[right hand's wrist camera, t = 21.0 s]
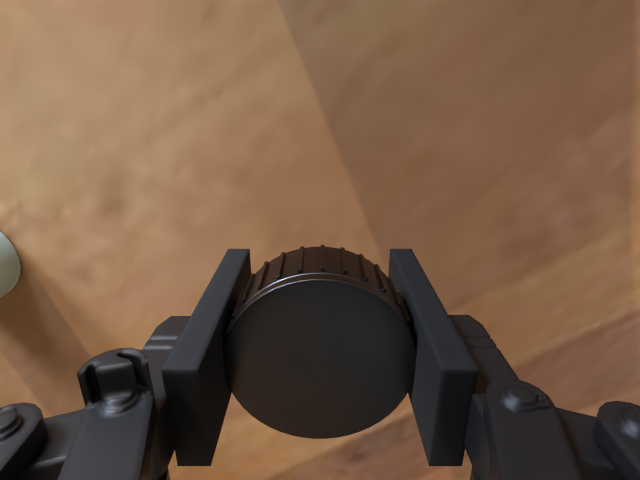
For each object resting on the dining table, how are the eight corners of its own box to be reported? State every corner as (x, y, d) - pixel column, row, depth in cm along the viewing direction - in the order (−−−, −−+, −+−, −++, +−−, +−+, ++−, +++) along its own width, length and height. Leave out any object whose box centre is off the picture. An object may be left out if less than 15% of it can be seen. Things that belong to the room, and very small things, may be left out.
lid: (293, 210, 11) (288, 236, 9) (438, 300, 12) (461, 342, 10) (206, 340, 13) (185, 388, 11) (340, 411, 14) (344, 466, 12)
